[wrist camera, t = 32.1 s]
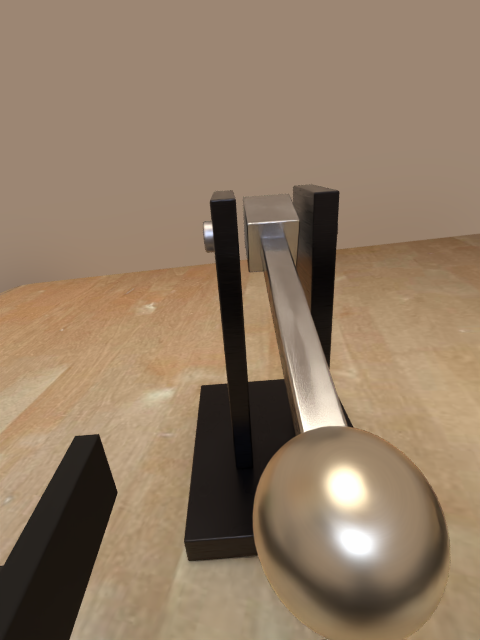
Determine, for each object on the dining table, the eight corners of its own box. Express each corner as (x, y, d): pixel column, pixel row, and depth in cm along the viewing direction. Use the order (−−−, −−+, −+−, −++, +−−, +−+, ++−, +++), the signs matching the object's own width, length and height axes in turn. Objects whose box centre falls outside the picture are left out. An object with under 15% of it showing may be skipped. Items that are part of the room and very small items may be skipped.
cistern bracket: (396, 544, 16) (471, 193, 9) (188, 561, 16) (113, 219, 9) (327, 390, 27) (339, 177, 20) (203, 400, 27) (173, 189, 20)
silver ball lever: (447, 646, 7) (553, 622, 4) (262, 663, 6) (262, 648, 4) (299, 248, 18) (304, 179, 15) (232, 253, 18) (226, 184, 15)
